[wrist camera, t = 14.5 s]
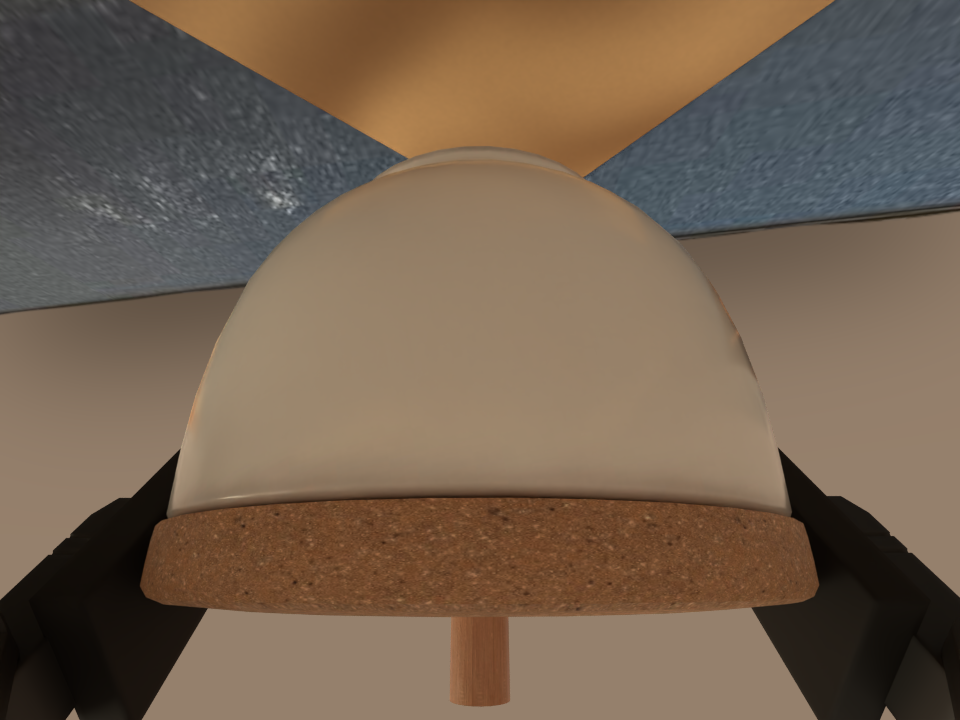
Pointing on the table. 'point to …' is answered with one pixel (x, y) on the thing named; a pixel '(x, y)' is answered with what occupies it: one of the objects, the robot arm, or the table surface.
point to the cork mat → (494, 63)
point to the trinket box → (479, 421)
